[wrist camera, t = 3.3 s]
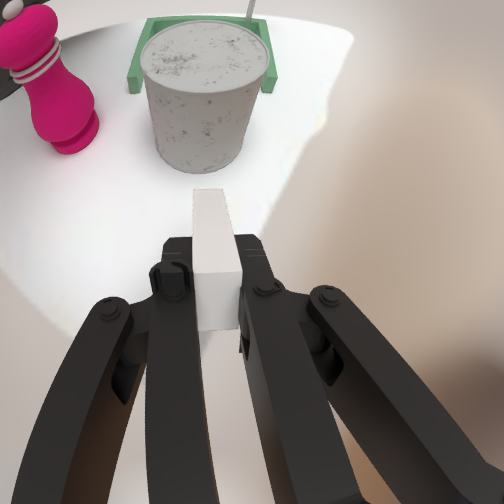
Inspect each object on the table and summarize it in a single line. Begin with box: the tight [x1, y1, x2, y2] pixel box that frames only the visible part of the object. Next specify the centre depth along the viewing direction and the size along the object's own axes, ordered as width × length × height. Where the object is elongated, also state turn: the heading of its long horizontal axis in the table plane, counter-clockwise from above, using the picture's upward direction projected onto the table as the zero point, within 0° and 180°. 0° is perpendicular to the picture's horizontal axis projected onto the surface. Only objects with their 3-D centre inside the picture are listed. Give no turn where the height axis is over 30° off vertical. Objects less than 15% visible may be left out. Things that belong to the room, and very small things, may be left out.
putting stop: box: [127, 0, 278, 94], centre depth 23 cm, size 19×14×15 cm
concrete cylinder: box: [140, 20, 270, 174], centre depth 22 cm, size 10×10×12 cm
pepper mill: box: [0, 0, 99, 154], centre depth 15 cm, size 7×7×20 cm
